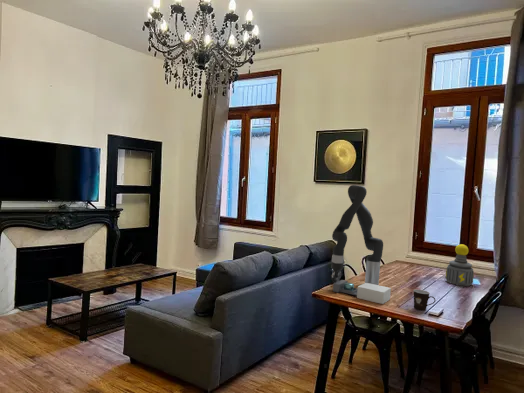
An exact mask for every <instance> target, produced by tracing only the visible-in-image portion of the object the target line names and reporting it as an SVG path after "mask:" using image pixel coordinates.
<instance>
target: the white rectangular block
mask: <svg viewBox="0 0 524 393" xmlns="http://www.w3.org/2000/svg"><path fill="white" fill-rule="evenodd" d="M357 289H358V290H357V296H356V298H357V299H360V300H365V301H368V302H373V303H377V304H380V305H384V304H385V303H387V302H388V301H389V300H391V291H392V288H391V287H388V286H384V285H383V286H382V285H375V284H370V283H365V282H364V283H362V284H360V285H358V286H357Z"/></svg>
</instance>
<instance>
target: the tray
mask: <svg viewBox="0 0 524 393" xmlns="http://www.w3.org/2000/svg"><path fill="white" fill-rule="evenodd" d="M332 283H333V284H332V285H333V286H332V292H334V293H344V294H349V295H353V296H356V297H357V290H358V287H357V288H356V287H354V291H349V290H345V289H344V283H349V282H348V280H346V279H340V281H338V282H336V283H334V282H332Z"/></svg>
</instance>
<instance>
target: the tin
mask: <svg viewBox="0 0 524 393" xmlns="http://www.w3.org/2000/svg"><path fill="white" fill-rule="evenodd" d="M354 288H355V283H353V282H348V283H344V289H345V290H349V291H354Z"/></svg>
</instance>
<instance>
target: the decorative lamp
mask: <svg viewBox="0 0 524 393" xmlns="http://www.w3.org/2000/svg"><path fill="white" fill-rule="evenodd" d="M454 251H455V253H456V254H455V255H456V256H455V258H454V260H450V261H449V263H448V264H447V266H446V270H445V280H446V282H447V283H449V284H451V283H452V285H455V284H456V286H461V285H462V287H463V286H464V287H470V285H471V286H472V284H473V283H474V277H475V275H474V274H475V271H474V268H473V265H472V263H471V262H468V260H467V259H468V258H467V255H468V253H469V248H468V246H467V245H465V244H462V243H461V244H457V245H456V246H455V250H454Z"/></svg>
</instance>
